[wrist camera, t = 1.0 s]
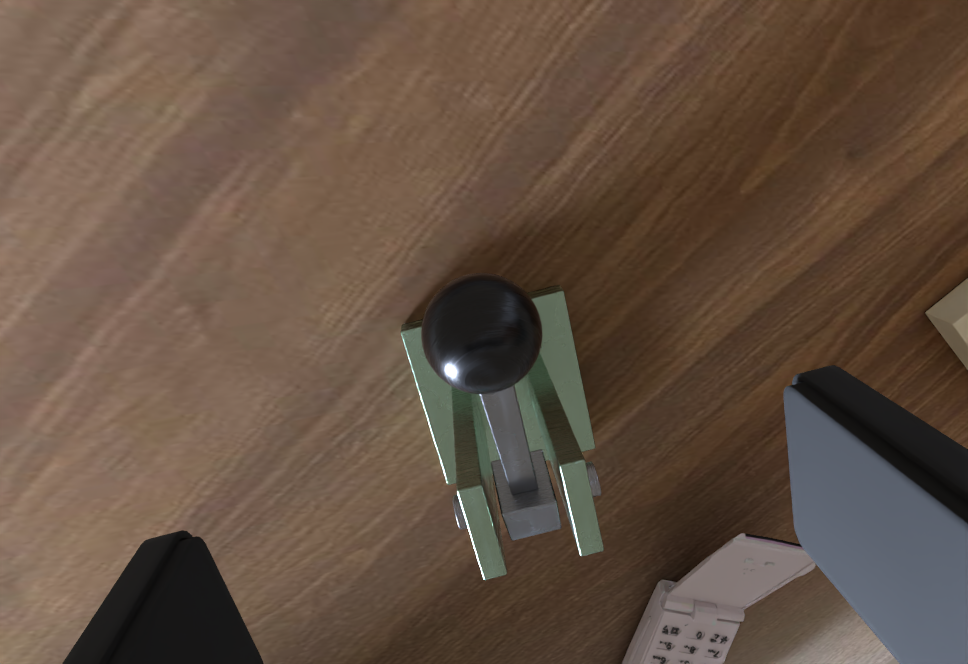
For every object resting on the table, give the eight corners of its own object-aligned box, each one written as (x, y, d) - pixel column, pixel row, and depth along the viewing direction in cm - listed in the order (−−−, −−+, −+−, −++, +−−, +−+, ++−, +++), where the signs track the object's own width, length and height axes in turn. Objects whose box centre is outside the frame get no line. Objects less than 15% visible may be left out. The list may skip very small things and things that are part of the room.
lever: (401, 265, 18) (414, 360, 15) (520, 235, 17) (550, 326, 15) (485, 482, 28) (499, 556, 26) (558, 464, 28) (579, 537, 26)
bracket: (401, 324, 35) (383, 441, 23) (559, 284, 35) (625, 381, 23) (447, 474, 38) (453, 643, 26) (591, 438, 38) (662, 592, 26)
